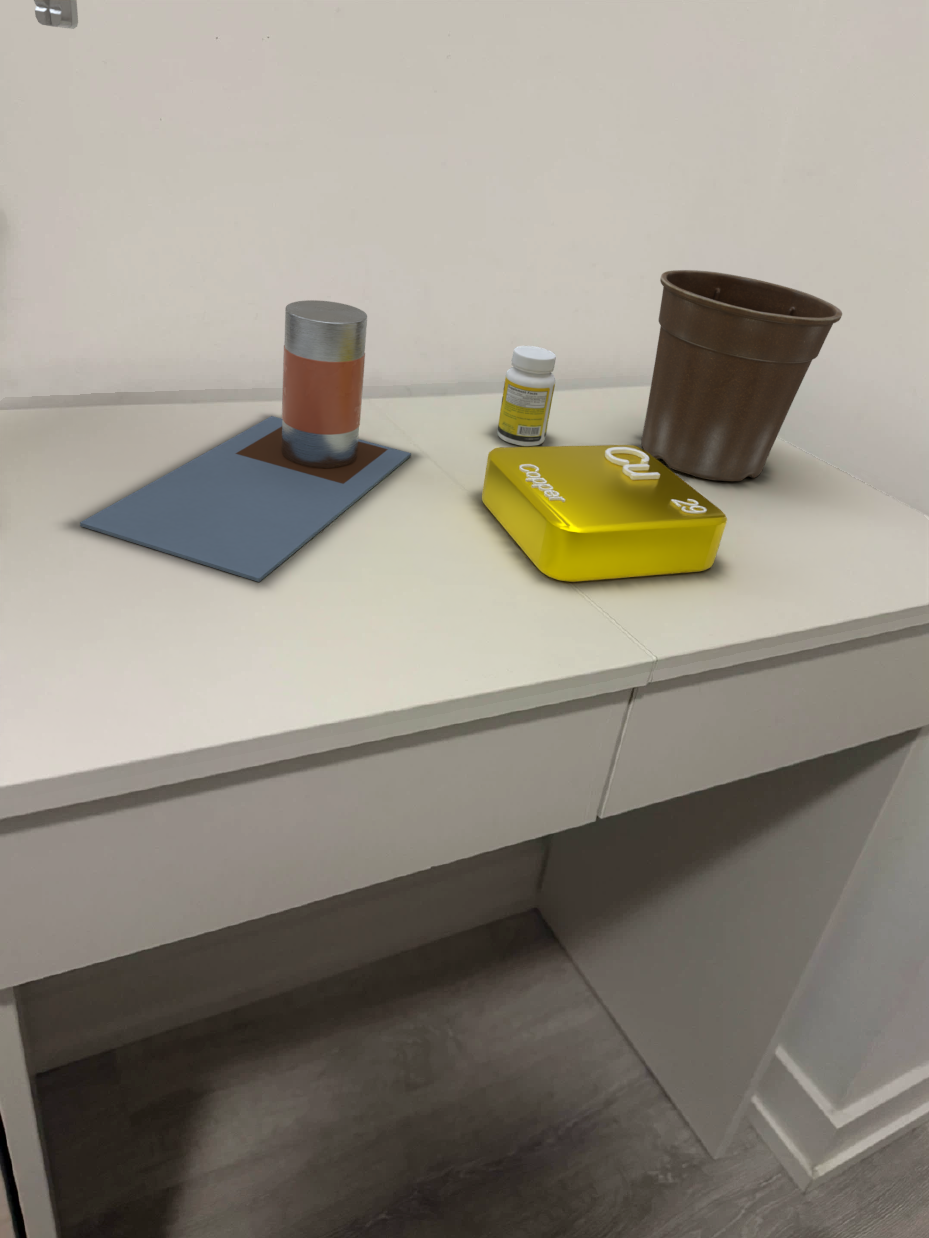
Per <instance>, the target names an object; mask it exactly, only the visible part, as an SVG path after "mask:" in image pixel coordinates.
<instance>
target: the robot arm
mask: <svg viewBox="0 0 929 1238" xmlns="http://www.w3.org/2000/svg"><path fill="white" fill-rule="evenodd" d="M33 2H34V4H35V8H34V16H35V18H36V21H37V22H38V23H39V24H40V25H42V26H47V27H55V28H62V29H69V30H74V29H76V28H77V27H78V24H79V16H78V1H77V0H33Z"/></svg>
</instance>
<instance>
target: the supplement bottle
mask: <svg viewBox="0 0 929 1238" xmlns="http://www.w3.org/2000/svg"><path fill="white" fill-rule="evenodd" d="M556 358H557V355H556V354H555V352H553V351H551V350H549V349H547V348H544V347H539V346H534V345H519V346H516V347H514V348H513V351H512V357H511V361H510V362H511V367H510V368H509V369H507V371H506V373H505V378H504V384H503V389H502V390H503V391H502V397H501V405H500V411H499V417H498V424H497V431H496V432H497V433H496V434H497V436H498V437H499V438H500V440H502V441H504V442H506V443H509V444H512V445H516V446H519V447H537V446H539V445H541V444H543V443H544V442H545V440H546V436H547V431H548V425H549V419H550V415H551V409H552V403H553V398H554V392H555V387H556V377H555V375H554V373H553V372H554V369H555V364H556Z"/></svg>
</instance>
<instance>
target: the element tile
mask: <svg viewBox="0 0 929 1238" xmlns="http://www.w3.org/2000/svg"><path fill="white" fill-rule="evenodd" d="M485 465H486V466H485V473H484V478H483V485H482V492H481V501H482V503H483V504H484V505H485V507H486V508H487V509H488V511H489V512H490V513H491V514H492V515H493V517H494V518H495V519H496V520H497V521H498V523H499V524H500V525H501V526H502V528H504V530H505V531H506V532H507V534H509V536H510V537H511V538H512V539H513V540H514V542H515V543H516V544H517V545H518V546H519V547H520V549H521V550H522V551H523V552H524V554H525V555H526V556H527V557H528V558H529V559H530V561H531V562H532V563H533V564H534V565H535V567H536V568H537V569H538V570H539V571H540V572H541V573H543V574H544V575H545V576H547V577H549V578H550V579H554V580H557V581H561V582H567V583H569V582H573V583H576V582H577V583H578V582H589V581H601V580H603V581H604V580H612V579H613V580H614V579H625V578H638V577H647V576H648V577H649V576H661V575H662V576H664V575H673V574H674V575H675V574H676V575H677V574H686V573H688V574H689V573H698V572H699V573H700V572H703V571H706V570H709V569H710V568H712V567H713V565H714V563H715V561H716V557H717V554H718V551H719V548H720V544H721V541H722V538H723V535H724V532H725V530H726V526H727V522H728V518H727V515H726V514H725V512H724V511H723V510H722V509H721V508H719V507H718V506H717V505H715V504H714V503H713V502H712V501H710V500H709V499H708V498H707V497H705V496H704V495H703V494H701V493H700V492H699V491H698V490H696V489H695V488H694V487H693V486H691V485H690V484H689V483H688V482H686V481H685V480H684V479H683V478H681V477H680V476H678V475H677V474H676V473H675V472H674V471H672V470H671V468H669V467H667V466H666V465H665V464H664V463H662V462H661V461H660V460H659V459H656V458H654V457H653V456H652V455H651V454H649V453H648V452H646V451H645V450H644V449H643V448H641V447H640V446H637V445H633V444H608V445H607V444H605V445H596V444H595V445H554V446H553V445H552V446H551V445H550V446H549V445H548V446H547V445H545V446H503V447H502V446H499V447H495V448H494V447H493V449H491V450H490V451H489V452H488V454H487V459H486V464H485Z"/></svg>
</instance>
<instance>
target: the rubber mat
mask: <svg viewBox="0 0 929 1238" xmlns="http://www.w3.org/2000/svg"><path fill="white" fill-rule="evenodd" d="M410 457H412V452H409V451H405V450H400V449H397V448H393V447H389V446H386V445H382V444H380V443H379V444H378V443H375V442H371V441H367V440H363V439H359V438H358V449H357V458H356V460H355V461H354V462H353V463H351V464H349V465H347V466H343V467H338V468H313V467H307V466H303V465H299V464H297V463H294V462H292V461H290V460H288V459H287V458H286V457H285V456H284V455H283V454H282V417H277V416H274V415H271V416H269V417H267V418H266V419H264V420H262V421H259V422H258V423H256V424H255V425H253V426H250V427H249V428H248V429H245V430H244V431H242V432H240V433H238V434H236V435H235V436H233V437H231V438H229V439H227V440H225V441H224V442H222V443H220V444H219V445H216V446H215V447H213V448H211V449H209V450H207V451H205V452H204V453H202V454H201V455H199V456H196V457H195V458H193V459H192V460H190V461H188V462H186V463H185V464H183V465H181V466H179V467H177V468H176V469H173V470H172V471H170V472H167V473H166V474H164V475H163V476H161V477H159V478H157V479H156V480H154V481H152V482H150V483H148V484H146V485H144V486H143V487H141V488H139V489H138V490H136V491H134V492H131V494H128V495H126V496H125V497H123V498H121V499H120V500H118V501H115V502H114V503H112V504H110V505H109V506H107V507H105V508H103V509H102V510H99V511H98V512H95V513H94V514H92V515H90V516H89V517H87V518H85V519H84V520H81V521H80V522H79V526H80V527H81V528H85V529H88V530H92V531H94V532H98V533H100V534H104V535H107V536H110V537H114V538H117V539H120V540H124V541H126V542H130V543H133V544H136V545H140V546H143V547H146V548H149V549H152V550H155V551H159V552H161V553H165V554H168V555H170V556H174V557H178V558H181V559H184V560H187V561H190V562H192V563H193V562H194V563H197V564H200V565H203V566H206V567H210V568H213V569H216V570H219V571H222V572H226V573H229V574H232V575H234V576H237V577H241V578H245V579H248V580H251V581H255V582H256V583H257V582H258V583H260V582H262V580H264V579H265V578H266V577H267V576H269V575H270V574H271V573H272V572H273V571H275V570H276V569H277V568H278V567H280V566H281V564H283V563H285V562H286V560H288V559H289V558H290V557H292V555H294V554H295V553H296V552H297V551H299V550H300V549H301V548H302V547H303V546H304V545H306V544H307V543H309V541H310V540H312V539H313V538H314V537H316V536H317V535H318V534H319V533H320V532H321V531H323V530H324V529H325V528H326V527H328V526H329V525H330V524H331V523H332V522H334V521H335V520H336V519H338V518H339V517H340V516H341V515H342V514H343V513H344V512H345V511H347V510H348V509H349V508H350V507H352V506H353V505H354V504H356V502H358V500H360V499H361V498H362V497H364V496H365V495H366V494H367V493H368V492H370V491H371V490H372V489H373V488H374V487H376V486H377V485H378V484H379V483H381V482H382V481H383V480H384V479H385V478H387V476H389V475H390V474H391V473H392V472H393V471H395V470H396V469H397V468H399V467H400V466H401V465H402V464H403V463H405V462H406V461H407V460H408V459H409V458H410Z"/></svg>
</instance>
